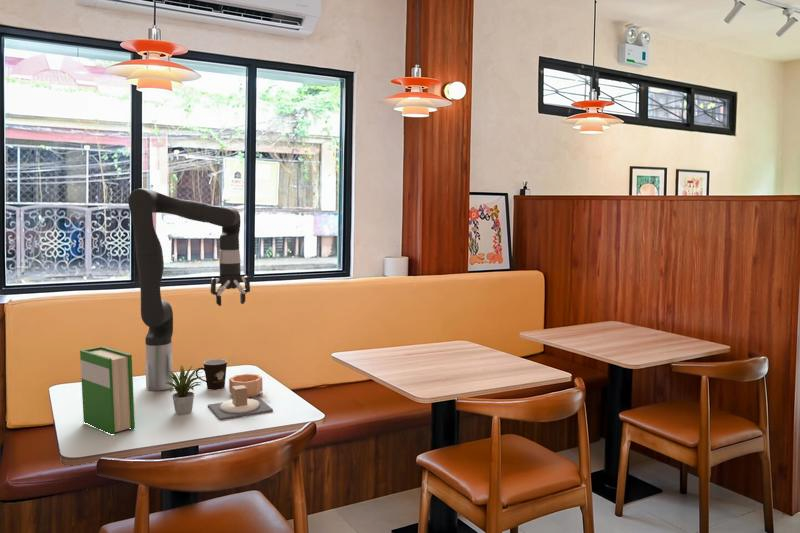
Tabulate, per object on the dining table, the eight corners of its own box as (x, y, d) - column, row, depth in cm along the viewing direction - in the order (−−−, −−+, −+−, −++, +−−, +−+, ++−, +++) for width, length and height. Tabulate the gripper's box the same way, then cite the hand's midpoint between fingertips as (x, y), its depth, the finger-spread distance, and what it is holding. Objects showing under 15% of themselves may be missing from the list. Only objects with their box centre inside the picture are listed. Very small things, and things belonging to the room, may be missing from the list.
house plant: (186, 423, 214) (184, 373, 212) (151, 417, 218) (149, 369, 217) (213, 409, 227) (211, 363, 225) (179, 405, 232) (178, 359, 230)
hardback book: (134, 429, 208) (131, 354, 205) (112, 436, 202) (108, 359, 199) (106, 417, 219) (102, 346, 216) (83, 423, 213) (79, 350, 210)
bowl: (235, 400, 237) (235, 384, 236) (227, 392, 246) (226, 376, 246) (265, 395, 242) (265, 379, 242) (256, 388, 252) (255, 372, 251)
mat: (219, 420, 216) (219, 418, 216) (207, 406, 230) (207, 404, 230) (273, 411, 225) (273, 409, 225) (258, 399, 239) (258, 396, 238)
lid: (226, 415, 218) (225, 395, 218) (216, 404, 230) (215, 385, 229) (264, 409, 225) (264, 389, 224) (252, 399, 236) (252, 379, 235)
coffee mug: (226, 383, 258) (226, 358, 257) (228, 389, 250) (227, 363, 249) (195, 386, 254) (194, 360, 253) (196, 392, 246) (195, 366, 245)
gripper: (245, 259, 253) (246, 301, 255) (208, 261, 246) (209, 304, 248) (251, 261, 247) (252, 304, 249) (213, 263, 240) (214, 307, 242)
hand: (230, 304), depth 249 cm, fingers open, 8 cm apart
